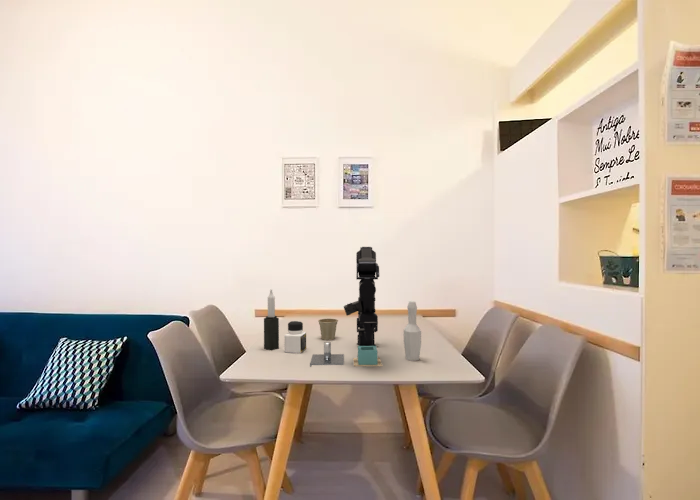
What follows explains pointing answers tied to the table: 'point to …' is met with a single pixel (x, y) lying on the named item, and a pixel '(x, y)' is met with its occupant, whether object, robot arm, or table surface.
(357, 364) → the stand
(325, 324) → the flower pot
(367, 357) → the collar
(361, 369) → the table surface
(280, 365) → the table surface
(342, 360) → the silver peg base
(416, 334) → the grey bottle
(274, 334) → the black and white bottle
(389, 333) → the table surface
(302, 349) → the medicine bottle
